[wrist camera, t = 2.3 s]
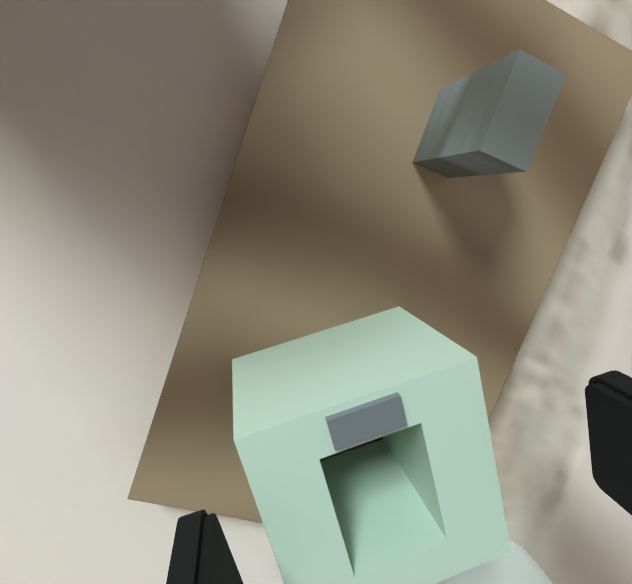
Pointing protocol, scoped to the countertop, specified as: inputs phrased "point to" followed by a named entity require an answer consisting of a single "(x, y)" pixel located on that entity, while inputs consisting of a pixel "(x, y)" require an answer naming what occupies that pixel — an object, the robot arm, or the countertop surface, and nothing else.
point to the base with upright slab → (503, 571)
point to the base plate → (387, 202)
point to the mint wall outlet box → (370, 454)
